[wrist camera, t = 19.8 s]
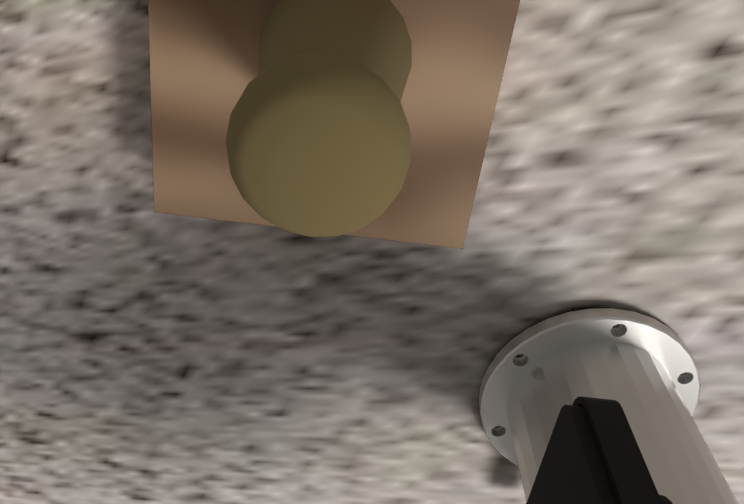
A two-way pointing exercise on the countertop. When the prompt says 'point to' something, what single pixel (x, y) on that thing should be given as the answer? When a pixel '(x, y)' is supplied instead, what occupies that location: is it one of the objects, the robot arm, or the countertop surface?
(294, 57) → the cork
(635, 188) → the countertop surface
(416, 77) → the board
